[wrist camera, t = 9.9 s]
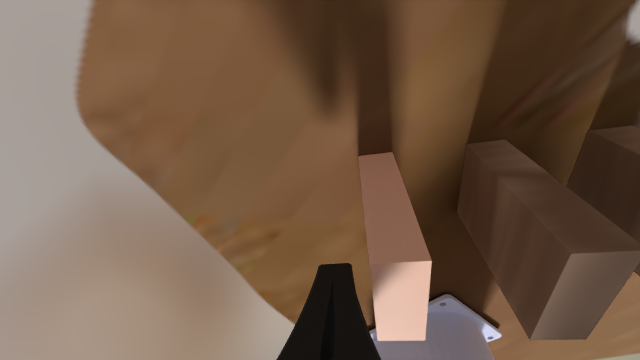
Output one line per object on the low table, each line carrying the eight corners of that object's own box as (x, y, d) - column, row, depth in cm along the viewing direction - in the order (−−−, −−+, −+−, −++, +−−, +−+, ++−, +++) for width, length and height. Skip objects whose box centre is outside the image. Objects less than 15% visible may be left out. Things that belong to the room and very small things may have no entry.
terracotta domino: (364, 219, 18) (377, 341, 11) (358, 156, 16) (369, 264, 9) (394, 217, 18) (425, 340, 11) (392, 152, 15) (431, 261, 9)
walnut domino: (456, 212, 17) (529, 339, 11) (466, 143, 15) (571, 254, 8) (489, 210, 17) (586, 339, 10) (505, 139, 14) (648, 249, 8)
